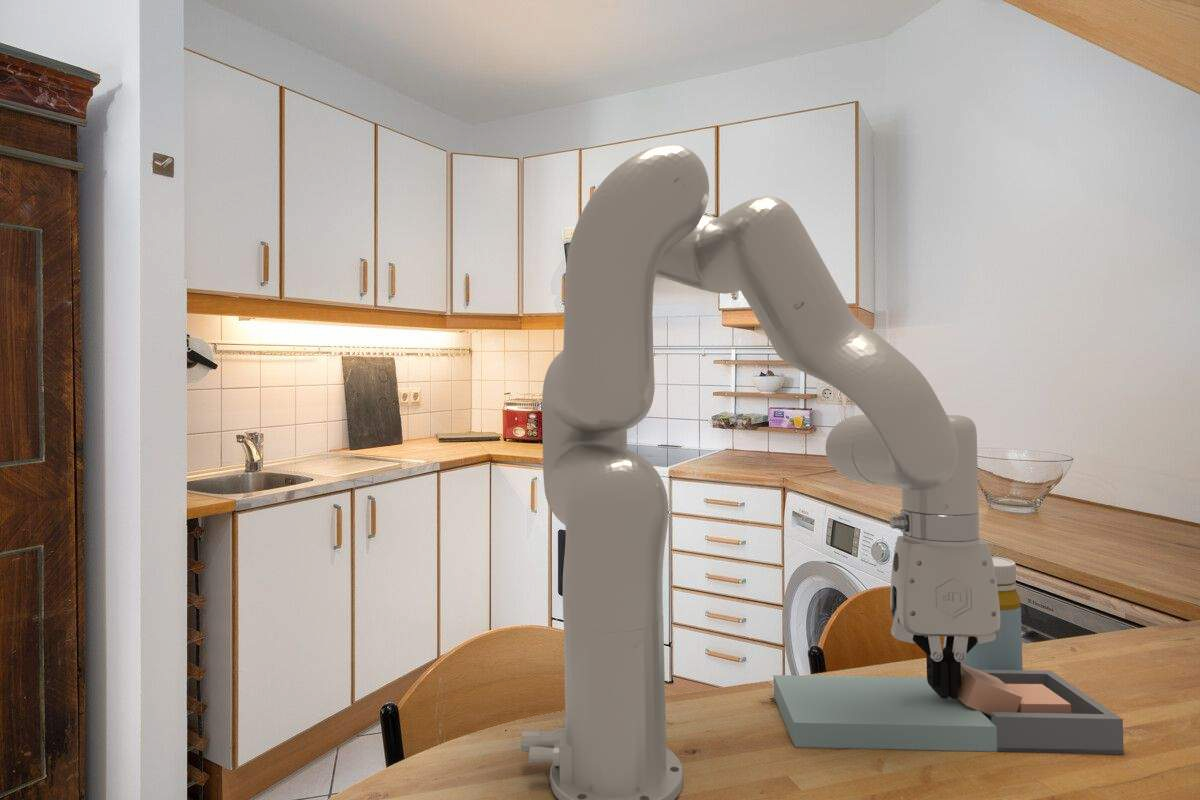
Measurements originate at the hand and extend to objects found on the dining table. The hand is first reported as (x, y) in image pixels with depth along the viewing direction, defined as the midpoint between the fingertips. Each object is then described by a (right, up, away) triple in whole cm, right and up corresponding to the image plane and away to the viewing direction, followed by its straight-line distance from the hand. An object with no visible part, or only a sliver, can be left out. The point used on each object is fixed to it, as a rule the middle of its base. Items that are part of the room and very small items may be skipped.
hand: (944, 693), depth 73 cm
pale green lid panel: (-7, -3, +1) cm, 8 cm away
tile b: (+9, -3, -1) cm, 10 cm away
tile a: (+3, -1, 0) cm, 4 cm away
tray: (+9, -3, -1) cm, 9 cm away
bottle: (+12, -3, +11) cm, 16 cm away
